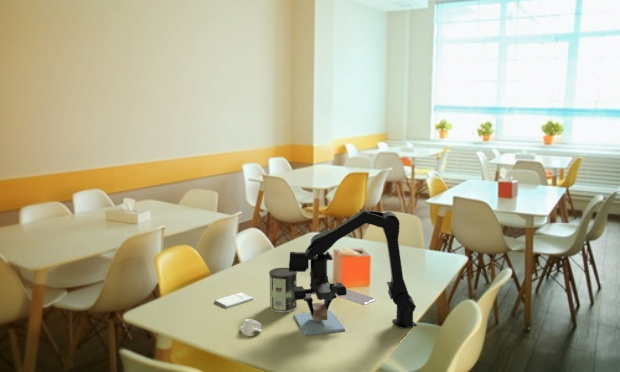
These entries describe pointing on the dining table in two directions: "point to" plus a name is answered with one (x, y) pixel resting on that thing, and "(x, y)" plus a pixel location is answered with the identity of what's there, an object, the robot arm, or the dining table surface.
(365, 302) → the mobile phone
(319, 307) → the walnut block
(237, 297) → the external hard drive
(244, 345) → the dining table surface
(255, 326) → the white crumpled lump
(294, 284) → the coffee can
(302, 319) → the mat
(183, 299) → the dining table surface
